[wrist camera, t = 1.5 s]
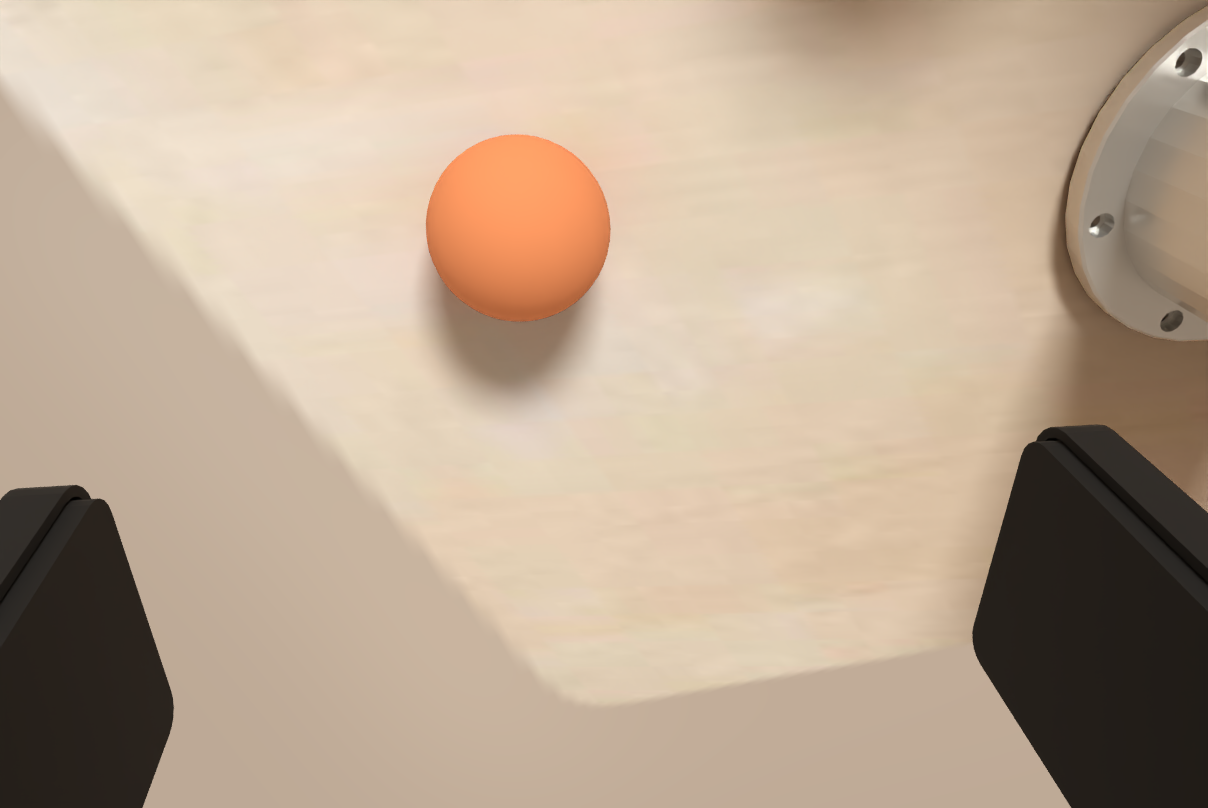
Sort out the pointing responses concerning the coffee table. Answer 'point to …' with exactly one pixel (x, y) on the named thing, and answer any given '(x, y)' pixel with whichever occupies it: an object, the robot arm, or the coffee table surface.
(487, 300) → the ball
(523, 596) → the coffee table surface
